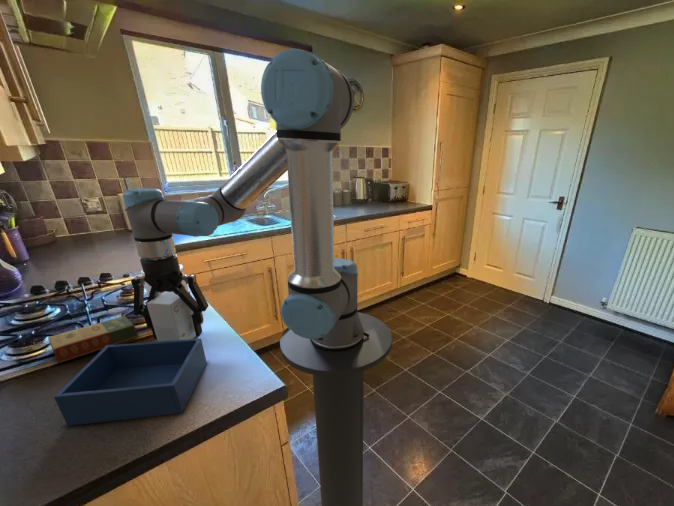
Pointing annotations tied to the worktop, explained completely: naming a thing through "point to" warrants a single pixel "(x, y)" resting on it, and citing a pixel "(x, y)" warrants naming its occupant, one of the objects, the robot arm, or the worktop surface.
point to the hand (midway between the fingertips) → (178, 335)
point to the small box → (171, 317)
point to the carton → (92, 338)
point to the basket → (133, 382)
